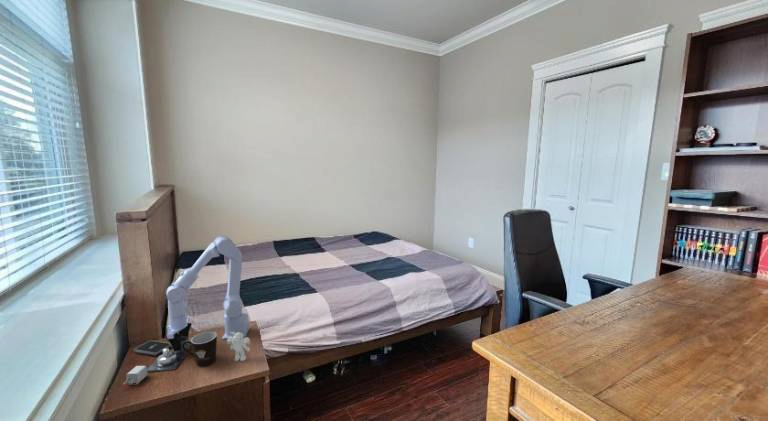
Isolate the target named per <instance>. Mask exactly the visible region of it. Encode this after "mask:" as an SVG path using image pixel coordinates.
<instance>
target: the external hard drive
mask: <svg viewBox="0 0 768 421" xmlns="http://www.w3.org/2000/svg"><path fill="white" fill-rule="evenodd" d="M164 348H169V349H170V348H172V345H171V343H170V342H163V341H156V340H147V341H146V342H144V343H142V344H141V345H139V346H138V347H136V348H134V353H135V354H137V353H138V354H139V355H145V356H150V357H156V358H157V357H158V356H159V355H162V354H163V349H164Z"/></svg>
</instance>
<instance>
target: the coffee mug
mask: <svg viewBox="0 0 768 421" xmlns="http://www.w3.org/2000/svg"><path fill="white" fill-rule="evenodd" d="M217 338H218V333H217V332H215V331H203V332H200V333H198V334H196V335H194V336H193V337H192V338H191V339H190V340H189V341H187V342H184V343H183V345H182V348H183V350H185V351H184V352H185V353H187V354H190V355H192V356H194V358H195V363H196V366H198V368H206V367H208V366H209V367H210V366H211V365H213V364H214V363H215V362H216V360H217V341H218V340H217ZM186 343H189V344H190V345H191V348H192V350H193V351H192V352H191V351H190V350H189V349H188V350H186V349H185V348H184V344H186Z"/></svg>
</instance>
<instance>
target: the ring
mask: <svg viewBox="0 0 768 421" xmlns="http://www.w3.org/2000/svg"><path fill="white" fill-rule="evenodd" d="M187 341H190V338H189V336H188V337H187V336H182V339H181V349H180V350H179V351H174V349H173V347H172V346H171V348H172V349H171V350H172V352H175V353H185V352H186V351H185V350H183V348H182V345H183V343H184V342H187ZM190 345H191V344H190V343H186V344H184V348H185V349H186V350H188V351H189V348H190V347H191V346H190Z"/></svg>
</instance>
